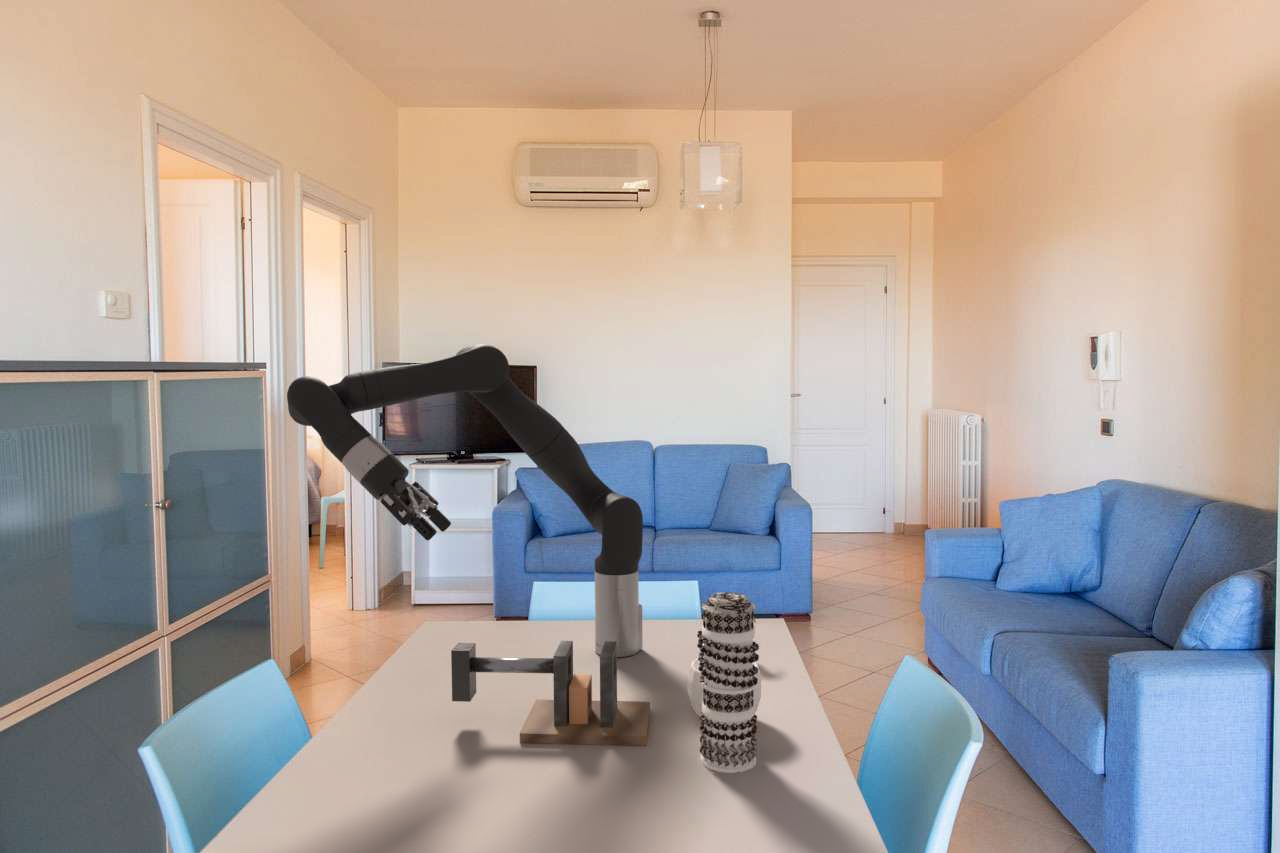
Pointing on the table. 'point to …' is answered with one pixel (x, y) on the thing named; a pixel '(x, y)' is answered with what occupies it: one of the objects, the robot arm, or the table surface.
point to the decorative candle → (728, 683)
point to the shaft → (487, 668)
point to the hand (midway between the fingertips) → (440, 532)
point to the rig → (607, 716)
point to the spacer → (580, 699)
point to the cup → (697, 690)
